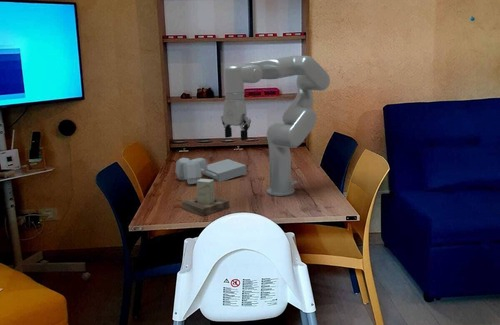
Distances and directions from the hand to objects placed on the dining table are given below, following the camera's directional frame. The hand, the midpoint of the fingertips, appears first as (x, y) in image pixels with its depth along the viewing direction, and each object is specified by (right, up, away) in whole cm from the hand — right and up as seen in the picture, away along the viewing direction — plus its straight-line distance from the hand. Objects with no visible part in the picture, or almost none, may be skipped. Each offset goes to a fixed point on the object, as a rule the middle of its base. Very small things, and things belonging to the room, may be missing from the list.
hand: (236, 138), depth 199 cm
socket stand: (-13, -29, +2) cm, 32 cm away
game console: (-14, -18, +49) cm, 55 cm away
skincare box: (-13, -29, +2) cm, 32 cm away
